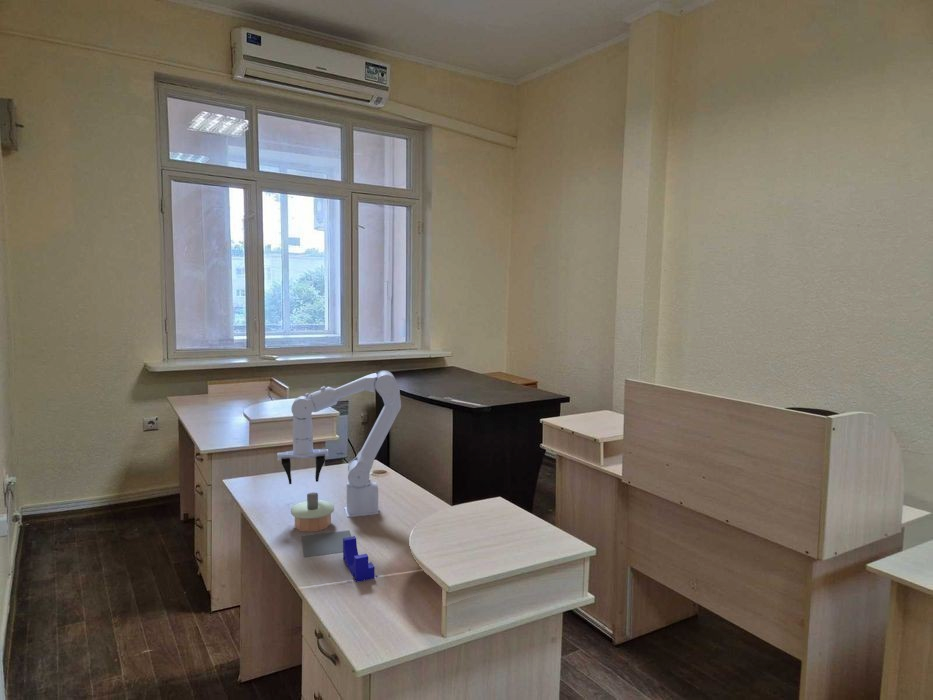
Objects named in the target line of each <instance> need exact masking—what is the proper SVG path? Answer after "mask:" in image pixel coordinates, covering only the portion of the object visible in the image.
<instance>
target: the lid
mask: <svg viewBox="0 0 933 700" xmlns="http://www.w3.org/2000/svg"><path fill="white" fill-rule="evenodd" d="M334 511H335V504H334V503H332V502H330V501H327V500H321V499H319V494H318V492H309V493H307V494H306V501H305V500H304V501H301V502H298V503H297V504H294V505H293V506H292V507H291V509H290V514H291V515H292V516H293V517H294V518H295V517H297V518H301V519H315V518H321V517H324V516H327V515H329V514H331V515H332V513H334Z"/></svg>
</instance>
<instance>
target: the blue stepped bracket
mask: <svg viewBox="0 0 933 700" xmlns="http://www.w3.org/2000/svg"><path fill="white" fill-rule="evenodd" d="M357 544H358V542H357V537H356V536H355V535H353V536H351V537H347V538H343V552H342V556H343V557H342V558H343V561H344V563H345V564H346V566H347V568H348V569H349V571H350V573H351V575H352V576H353V580H354V582H355V583H359V582H364V581H368V580H374V579H375V575H376V573H375V572H376V571H375V569H376V568H375V565H374V564H373V563H372V561H370V562H369V555H368V554H367V553H364V554H359V552H358V545H357Z"/></svg>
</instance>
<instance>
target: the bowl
mask: <svg viewBox="0 0 933 700" xmlns="http://www.w3.org/2000/svg"><path fill="white" fill-rule="evenodd" d="M330 525H332V513H331V514H329V515H327V516H324V517H321V518H315V519H301V518H297V517H294V528H295V529H297V530H298V531H302V532H308V533H309V532H317V531H321V530H325V529H326V528H329V526H330Z"/></svg>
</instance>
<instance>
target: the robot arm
mask: <svg viewBox="0 0 933 700" xmlns="http://www.w3.org/2000/svg"><path fill="white" fill-rule="evenodd" d="M400 390H401V389H400V386H399V383H398V382H397V380H396V378H395V375H394V374H393V373H392V372H391V371H389V370H380V371H378V372H374V373H370V374H367V375H365V376H362V377H360V378H357V379H356V380H353V381H350V382H348V383H345V384H343V385H341V386H339V387H336V388H334V387H331V386H327V387H326V386H325V385H323V386H322V387H320V389H319V390H317V391H314V392H311V393H309V392H307V393H305V395H300V396H298V397H296V398H295V399H294V400H293V403H292V405H291V414H292V450H289V451H288V450H287V451H284V452H283V451H282V452H277V454H276V455H277V462H281V465H282V467H283V469H284V471H285V474H286V476H287V480H288V485H292V474H291V472H292V471H291V468H292V467H291V460H297V459H299V460H301V459H312V458H315V475H314V476H315V482H319V478H320V475H321V470H322V469H323V466H324V464H325V461H326V458H329V449H327V448H322V449H321V448H320V449H319V448H318V449H317V448H315V449H314V433H313V432H314V428H313V427H314V425H313V423H314V422H313V420H312V413H317V412H321V411H323V410H325V409H328V408H330V407H333V406H336V405H337V403H338V401H339V400H340V399H343V398H345V397H348V396H351V395H354V394H357V393H360V392H363V391H367V392H370V393H375V391H376V392H377V393H378V394H379V396H380V397H381V398H382V402H383V404H384V405H383V407H382V409H381V411H380V413H379V415H378V417H377V418H376V420H375V422H374V424H373V426H372V428H371V430H370V432H369V434H368V436H367V438H366V440H365V442H364V444H363V445H362V448H361V449H360V451H358V453H357V454H356V457H354V458H353V459H352V460H351V461H350V462H349V463H348V465H347V473H348V475H347V481H346V506H344V507H343V509H344V512H345V515H346V517H347V518H354V517H363V516H371V515H378V514H379V513H380V512H379V486H378V482H376V481H371V479H370V472H371V469H372V468H373V465H374V461H375V458H376V457H377V455H378V453H379V451H380V449H381V447H382V446H383V443H384V441H385V440H386V437H387V435H388V434H389V432H390V431H391V430H390V429H391V428H392V426H393V424H394V422H395V420H396V418H397V416H398V414H399V412H400V411H401V408H402V401H401V393H400V392H401V391H400Z"/></svg>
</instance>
